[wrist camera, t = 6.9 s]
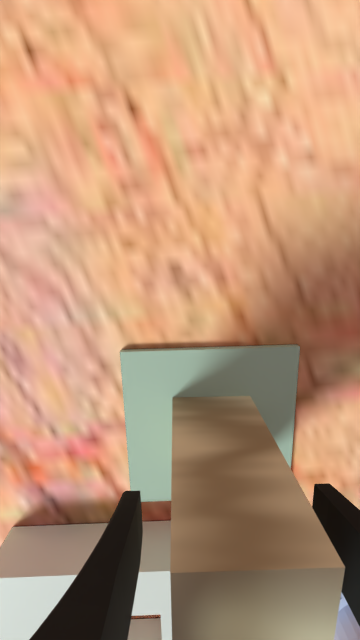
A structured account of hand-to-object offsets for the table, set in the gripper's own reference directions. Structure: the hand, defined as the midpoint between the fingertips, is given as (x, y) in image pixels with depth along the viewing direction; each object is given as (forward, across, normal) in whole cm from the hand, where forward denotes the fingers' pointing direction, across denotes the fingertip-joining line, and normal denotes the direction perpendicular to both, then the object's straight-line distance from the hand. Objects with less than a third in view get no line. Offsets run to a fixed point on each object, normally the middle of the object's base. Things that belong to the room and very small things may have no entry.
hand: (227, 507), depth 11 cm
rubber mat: (+6, 0, 0) cm, 6 cm away
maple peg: (+5, 0, 0) cm, 5 cm away
